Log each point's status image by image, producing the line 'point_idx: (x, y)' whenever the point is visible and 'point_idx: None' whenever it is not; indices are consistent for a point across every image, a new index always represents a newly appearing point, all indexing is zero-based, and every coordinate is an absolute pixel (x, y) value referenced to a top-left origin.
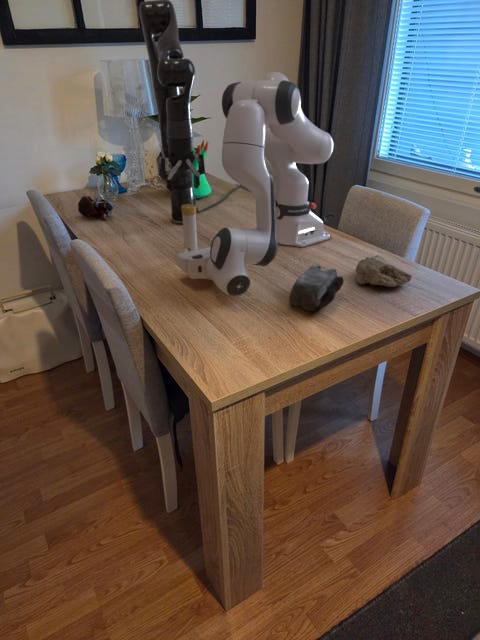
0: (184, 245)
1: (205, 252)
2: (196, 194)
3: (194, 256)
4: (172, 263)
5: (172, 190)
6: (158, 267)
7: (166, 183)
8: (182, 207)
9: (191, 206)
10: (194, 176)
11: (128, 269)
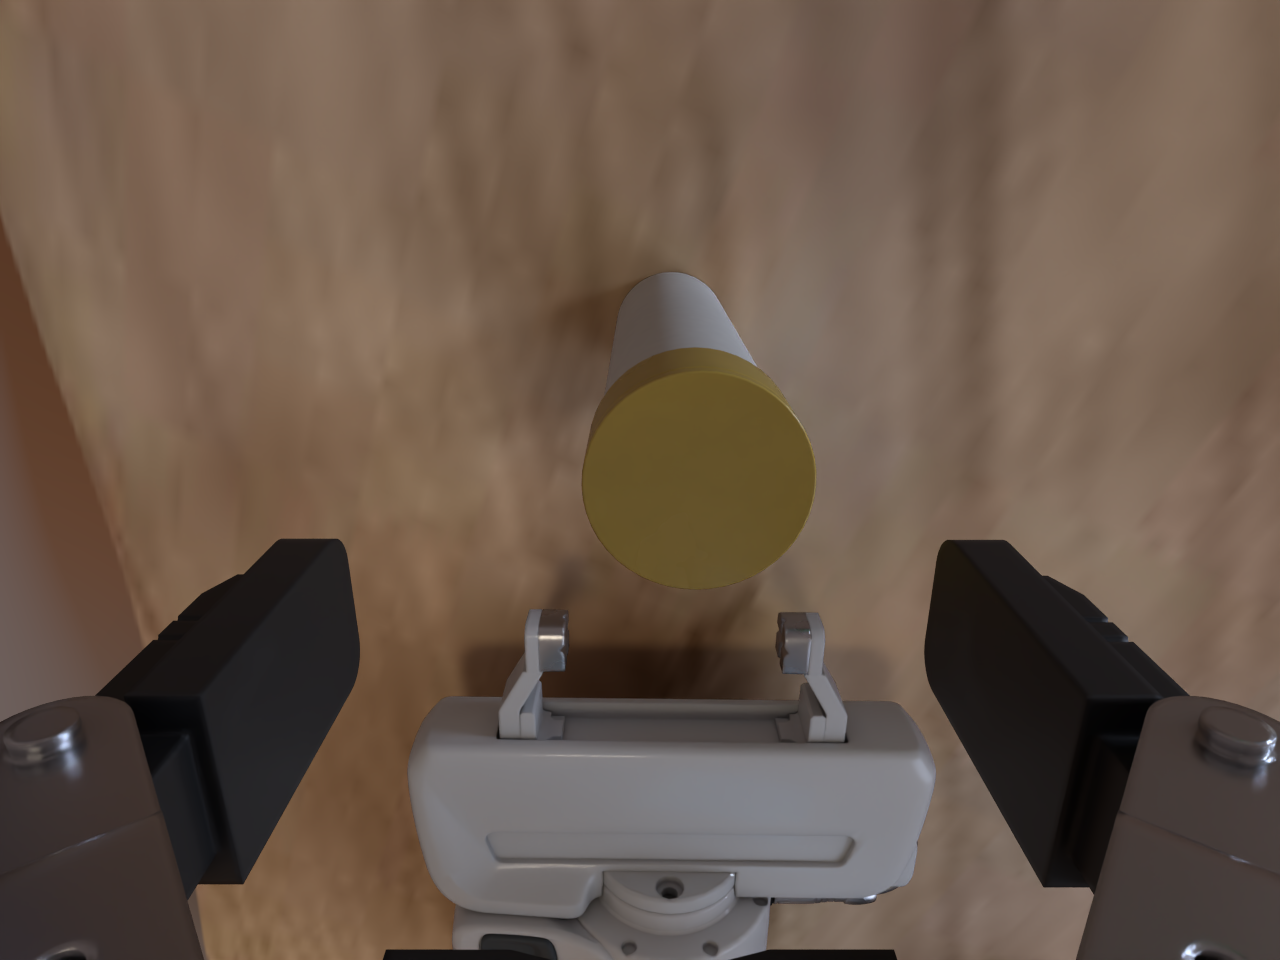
0: (614, 335)
1: (591, 954)
2: None
3: (501, 943)
4: (480, 402)
5: (345, 682)
6: (360, 426)
7: (144, 656)
8: (589, 504)
9: (736, 516)
10: (1063, 784)
11: (126, 364)
